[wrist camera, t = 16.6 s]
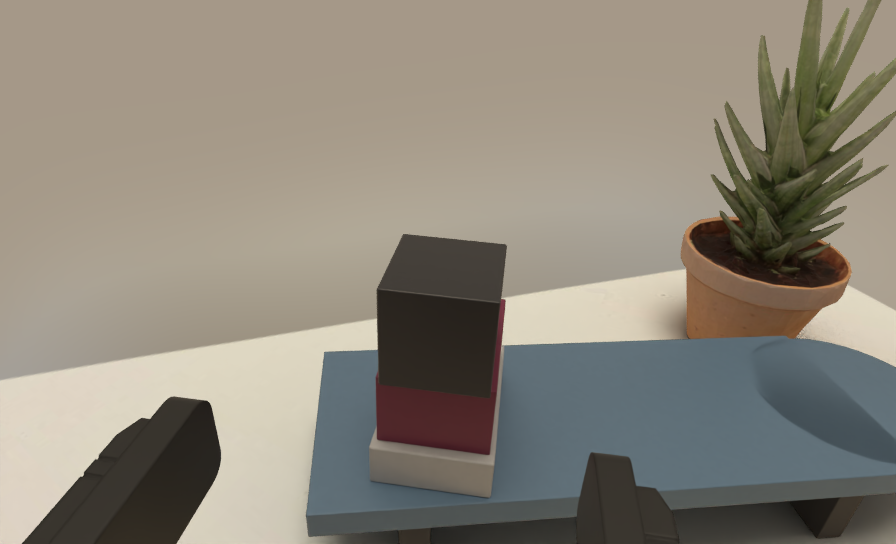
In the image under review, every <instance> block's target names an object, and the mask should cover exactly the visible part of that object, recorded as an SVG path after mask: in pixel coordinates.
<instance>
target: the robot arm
mask: <svg viewBox="0 0 896 544" xmlns="http://www.w3.org/2000/svg"><path fill="white" fill-rule="evenodd" d="M220 461H221V450H220V445H219V440H218V435H217V431H216V426H215V421H214V416H213V412H212V407H211V405H210V403H209V402H208V401H204V400H196V399H188V398H181V397H170V398H168V399H167V400H166V401H165V402H164V403H163V404H162V405H161V407H160V408H159V409H158V410H157V411H156V413H155V414H154V415H153V416H152V417H151V419H145V418H141V419H139V420H138V421H136V422H135V423H133V424H132V425H130V426H129V427H127V428H126V429H124V430H123V431H122V432H120V433H119V434H117V435H116V436H115V437H114V438H113V440H112V441H111V442H110V443H109V444H108V445H107V446H106V448H105V449H104V450H103V451H102V452H101V453H100V455H99V458H98V460H96V459H95V460H94V461H93V463H92V464H91V465H90V466H89V467H88V468H87V470H86V471H85V472H84V476H83V477H80V478H79V479H78V480H77V481H76V482H75V483H74V485H73V486H72V487H71V488H70V489H69V490H68V491H67V493H66V494H65V495H64V496H63V497H62V498H61V499H60V501H59V502H58V503H57V504H56V505H55V506H54V508H53V509H52V510H51V511H50V512H49V513H48V514H47V516H46V517H45V518H44V519H43V520H42V521H41V523H40V524H39V525H38V526H37V527H36V528H35V529H34V531H33V532H32V533H31V534H30V535H29V536H28V538H27V539H26V540H25V541H24V542H23V543H22V544H176V543H177V542H178V540H179V538H180V537H181V535H182V533H183V532H184V530H185V529H186V527H187V525H188V524H189V522H190V520H191V519H192V517H193V515H194V514H195V512H196V510H197V509H198V507H199V505H200V504H201V502H202V500H203V499H204V497H205V496H206V494H207V492H208V491H209V489H210V487H211V486H212V484H213V482H214V480H215V478H216V476H217V473H218V470H219V467H220ZM576 533H577V544H679V536H678V532H677V528H676V524H675V520H674V516H673V512H672V511H671V509H670V508H669V507H668V505H667V504H666V502H665V501H664V499H663V498H662V496H661V495H660V493H659V492H658V491H657V489H656V488H650V487H642V486H636V483H635V478H634V472H633V467H632V463H631V460H630V458H629V457H627V456H619V455H611V454H603V453H596V452H591V453H590V455H589V458H588V463H587V467H586V471H585V476H584V480H583V484H582V489H581V493H580V497H579V502H578V508H577V521H576Z"/></svg>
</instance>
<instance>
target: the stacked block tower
mask: <svg viewBox="0 0 896 544" xmlns="http://www.w3.org/2000/svg"><path fill="white" fill-rule="evenodd" d="M506 249H507V246H506V245H505V244H495V243H486V242H476V241H466V240H457V239H447V238H437V237H427V236H418V235H408V234H403V236H402V238H401V240H400V242H399V245H398V247H397V248H396V250H395V253H394V255H393V257H392V259H391V261H390V263H389V265H388V267H387V269H386V271H385V274H384V276H383V278H382V280H381V282H380V284H379V286H378V288H377V333H378V372H377V374H376V377H375V379H376V429H375V432H374V434H373V437H372V440H371V443H370V446H369V463H370V480H371V481H374V482H381V483H388V484H395V485H402V486H409V487H416V488H423V489H430V490H436V491H443V492H450V493H457V494H464V495H471V496H478V497H485V498H490V496H491V490H492V482H493V474H494V465H495V454H496V442H497V430H498V419H499V407H500V395H501V383H502V372H503V360H504V346H501V345H502V334H503V323H504V313H505V302H506V301H505V300H504V299H501V295H502V286H503V276H504V267H505V258H506Z"/></svg>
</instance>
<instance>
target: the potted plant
mask: <svg viewBox="0 0 896 544" xmlns="http://www.w3.org/2000/svg"><path fill="white" fill-rule="evenodd" d="M880 2H881V0H868V1H867V3H866V5H865V8H864V10H863V12H862V13H861V15H860V17H859V19H858V21H857V23H856V25H855V27H854V29H853V31H852V33H851V35H850V37H849V39H848V41H847V43H846V45H845V47H844V50H843V52H842V54H841V56H840V58H839V61H838V62H837V64H836V66H835V63H836V60H837V57H838V55H839V51H840V47H841V43H842V39H843V35H844V31H845V28H846V24H847V18H848V14H849V8H846V10H845V11H844V13H843V15H842V17H841V19H840V21H839V23H838V25H837V27H836V29H835V32H834V34H833V37H832V38H831V40H830V42H829V44H828V46H827V48H826V50H825V52H824V54H823V56H822V59H821V60H820V63H819V65H818V62H819V45H820V32H821V21H822V0H809V1H808V6H807V10H806V15H805V21H804V26H803V33H802V39H801V46H800V51H799V57H798V63H797V69H796V78H795V86H794V88H793V89H792V90H791V91H790V75H789V69H788V68H786V71H785V74H784V77H783V83H782V89H781V95H780V100H779V99H778V96H777V92H776V87H775V83H774V79H773V76H772V73H771V68H770V62H769V58H768V53H767V48H766V41H765V36H763V35H762V36H761V39H760V44H759V53H758V80H759V94H760V104H761V111H762V118H763V124H764V131H765V138H766V151H762V150H760V149H758V148H757V147H755V146H754V144H753V143H752V142H751V140H750V138H749V137H748V135H747V134H746V133H745V131H744V130H743V128H742V126H741V124H740V123H739V121H738V119H737V118H736V116H735V114H734V112H733V110H732V108H731V107H730V105H729V104H728V102H727V101H726V103H725V111H726V114H727V118H728V121H729V125H730V127H731V130H732V133H733V135H734V138H735V140H736V142H737V145H738V148H739V150H740V153H741V155H742V158H743V160H744V162H745V164H746V166H747V169H748V171H749V173H750V175H751V178H752V179H750V180H749V179H748V180H747V181H746V180H745V178H744V177H743V176H742V174H741V173H740V171H739V169H738V168H737V166H736V163H735V161H734V159H733V157H732V155H731V152H730V150H729V148H728V146H727V144H726V142H725V139H724V137H723V134H722V132H721V129H720V127H719V124H718V122H717V120H716V119H714V122H715V125H716V126H715V131H716V135H717V139H718V142H719V146H720V149H721V153H722V155H723V158H724V160H725V163H726V166H727V168H728V171H729V173H730V176H731V178H732V180H733V182H734V184H735V186H736V190H735V191H731V190H730V189H728V188H727V187H726V186H725V185H724V184H723V183H721V182H720V181H719V180H718V179H717V178H716V176H715V175H711V177H712V179H713V181H714V183H715V185H716V186H717V188H718V190H719V191H720V193H721V194H722V196H723V197H724V199H725V200H726V202H727V203H728V205H729V206H730V207H731V209H732V210H733V212H734V213H735V214H736V216H737V217H727V215H726V214H725V213H724V212H723V211H720V217H714V218H709V219H702V220H699V221H697V222H695V223H693V224H692V225H691V226H689V227H688V228H687V230H686V231H685V234H684V237H683V242H682V247H681V259H682V262H683V264H684V266H685V267H686V273H687V336H688V337H689V339H705V338H734V337H762V336H787V337H788V338H789V339H795V338H796V336H797V335H798V334H799V333H800V331H801V330H802V329H803V328H804V327H805V326H806V325H807V324H808V323H809V322H810V321H811V319H812V318H813V317H814V316H815V315H816V314H817V313H818V312H819V311H820V310H821V309H822V308H824V307H826V306H828V305H831V304H833V303H836V302H837V301H838V300H839V299H840V298H841V297H842V295H843V293H844V291H845V288H846V286H847V283H848V281H849V279H850V276H851V273H852V271H851V267H850V263H849V262H848V261H847V259H846V258H845V257H844V256H843V255H842V254H841V253H840V252H839V251H838V250H837V249H835V248H834V247H833V246H831V245H830V243H829V244H828V243H826V242H824V241H822V240H821V239H822V238H824V237H826V236H828V235H829V234H831V233H832V232H834V231H835V230H837V229H838V228H840V227H841V226H842V225H843V224H844V222H843V223H839V224H835V225H832V226H829V227H827V228H824V229H822V230H818V231H813V232H812V231H810V229H812V228H814V227H816V226H818V225H820V224H823V223H825V222H827V221H829V220H830V219H832V218H834V217H836V216H837V215H839V214H841V213H842V212H843V211H844V210H846V208H847V206H843V207H840V208H837V209H835V210H832V211H830V212H827V213H825V214H822V215H820V214H821V213H822V212H823V211H824V210H825V209H826V208H827V207H828V206H829V205H830V204H831V203H832V202H833V201H834V200H836V199H838V198H839V197H841V196H843V195H844V194H846V193H848V192H849V191H851V190H852V189H854V188H856V187H857V186H859V185H861V184H862V183H864V182H866V181H867V180H869V179H871V178H872V177H874V176H876V175H877V174H879V173H880V172H881V171H883V170H884V169H885V168H886V167H887V166H888V165H885V166H881V167H879V168H878V169H876V170H874V171H872V172H871V173H869V174H867V175H864V176H862V177H860V178H857V179H855V180H854V181H851V182H849V183H848V184H845V183H847V182H848V181H849V180H850V179H851V178H853V177H854V176H855V175H856V174H857V172H858V171H859V169H861V168H862V162H863V158H862V159H860V160H858V161H857V162H856V163H854V164H852V165H851V166H849V167H848V168H846V169H845V170H843V171H842V172H841V173H839V174H838V175H837V176H835V177H834V178H833V179H831V180H830V181H829V182H826V183H824V184H822V183H823V182H824V181H825V180H826V179H827V178H828V177H829V176H831V175H832V174H833V173H834V172H836V171H837V170H838V169H840V168H841V167H842V166H843V165H845V164H846V163H847V162H848V161H849V160H851V159H852V158H853V157H855V156H856V155H857V154H858V153H859V152H860V151H861V150H862V149H864V148H865V147H866V146H867V145H868V144H869V143H870V142H871V141H872V140H873V139H874V138H875V137H877V136H878V135H879V134H880V133H881V132H882V131H883V130H884V129H885V128H886V127H887V126H888V125H889V123H890V122H891V121H892V120H893V118H894V117H895V116H896V111H895V112H893V113H892V114H890V115H889V116H888V117H886V118H885V119H883V120H882V121H880V122H879V123H877V124H876V125H875V126H874V127H872V128H871V129H870V130H868V131H867V132H865V133H864V134H862V135H861V136H859V137H857V138H855V139H854V140H852V141H850V142H849V143H847V144H846V145H844V146H842V147H841V148H840V149H838V150H836V151H835V152H832V151H830V149H831V148H832V146H833V145H834V143H835V142H836V141H837V139H838V138H839V136H840V135H841V134H842V133H843V132H844V131H845V130H846V129H847V128H848V127H849V126H850V125H851V124H852V123H853V121H854V120H855V119H856V118H857V117H858V116H859V115H860V114H861V112H862V111H863V110H864V109H865V108H866V107H867V106H868V105H869V103H870V102H871V101H872V100H873V99H874V98H875V97H876V96H877V95H878V93H879V92H880V91H881V90H882V89H883V88H884V87H885V85H886V84H887V83H888V82H889V81H890V80H891V79H892V77H893V76H894V75H895V74H896V58H895V59H894V60H893V61H892V62H891V63H890V64H889V65H888V66H887V67H886V68H885V69H884V70H882V71H881V72H880V73H879V74H878V75H877V76H876V77H875V72H874V73H872V74H871V75H870V76H868V77H867V78H866V79H865V80H864V81H863V82H862V83H861V84H860V85H859V86H858V88H857V89H856V90H855V91H854V92H853V93H852V94H851V95H850V96H849V97H848V98H847V99H846V100H844V101H843V102H842V103H841V104H840V105H839V106H838V107H837V108H835V109H834V110H833V111H832V112H830V109H831V107H832V105H833V103H834V101H835V100H836V98H837V96H838V93H839V91H840V89H841V87H842V84H843V82H844V80H845V78H846V75H847V73H848V71H849V69H850V66H851V65H852V62H853V60H854V58H855V56H856V54H857V52H858V50H859V48H860V46H861V43H862V42H863V40H864V37H865V35H866V32H867V30H868V28H869V25H870V23H871V21H872V19H873V17H874V14H875V12H876V10H877V8H878V6H879V4H880ZM874 77H875V78H874ZM844 184H845V185H844ZM819 215H820V216H819Z"/></svg>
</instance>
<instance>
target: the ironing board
mask: <svg viewBox="0 0 896 544" xmlns="http://www.w3.org/2000/svg"><path fill="white" fill-rule="evenodd" d="M377 372H378V350H365V351H336V352H324V360H323V369H322V378H321V387H320V396H319V404H318V413H317V422H316V431H315V440H314V449H313V458H312V467H311V476H310V485H309V494H308V503H307V512H306V519H307V528H308V536H309V537H313V536H327V535H340V534H354V533H367V532H380V531H394V530H398V534H399V544H430V537H431V528H434V527H448V526H461V525H474V524H488V523H501V522H515V521H528V520H542V519H555V518H568V517H577V508H578V502H579V497H580V493H581V489H582V484H583V480H584V476H585V471H586V467H587V463H588V458H589V455H590V453H591V452H596V453H603V454H611V455H619V456H627V457H629V458H630V460H631V463H632V467H633V472H634V478H635V483H636V486H642V487H650V488H656V489H657V491H658V492H659V493H660V495H661V496H662V498H663V499H664V501H665V502H666V504H667V505H668V507H669V508H670V509H671V510H676V509H689V508H703V507H716V506H730V505H743V504H756V503H770V502H783V501H789V502H790V503H791V504H792V506H793V507H794V508H795V510H796V511H797V512H798V514H799V515H800V516H801V518H802V519H803V520H804V522H805V523H806V524H807V526H808V527H809V528H810V530H811V531H812V532H813V534H814V535H815V536H816V538H827V537H839V536H841V534H842V533H843V531H844V529H845V527H846V526H847V524H848V522H849V521H850V519H851V517H852V516H853V514H854V512H855V511H856V509H857V507H858V506H859V504H860V502H861V501H862V499H863V497H864V496H865V495H877V494H891V493H896V367H894V366H892V365H890V364H888V363H886V362H884V361H882V360H879V359H877V358H875V357H873V356H870V355H867V354H865V353H862V352H860V351H857V350H854V349H850V348H847V347H844V346H840V345H836V344H832V343H828V342H823V341H817V340H810V339H789V338H788V337H787V336H762V337H734V338H705V339H677V340H649V341H620V342H592V343H563V344H535V345H507V346H504V360H503V372H502V383H501V395H500V407H499V419H498V430H497V442H496V454H495V465H494V474H493V482H492V490H491V496H490V498H485V497H478V496H471V495H464V494H457V493H450V492H443V491H436V490H430V489H423V488H416V487H409V486H402V485H395V484H388V483H381V482H374V481H371V480H370V463H369V446H370V443H371V440H372V437H373V434H374V432H375V429H376V379H375V377H376V374H377Z"/></svg>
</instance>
